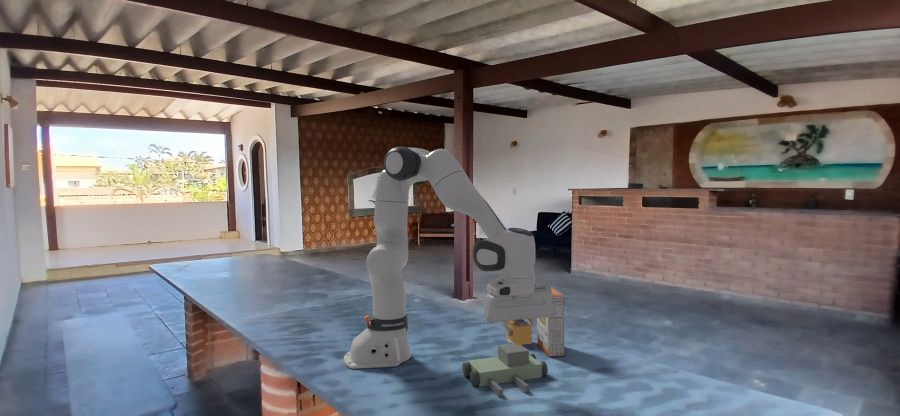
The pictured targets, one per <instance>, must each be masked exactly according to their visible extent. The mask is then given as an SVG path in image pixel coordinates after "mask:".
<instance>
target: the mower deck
mask: <svg viewBox="0 0 900 416" xmlns="http://www.w3.org/2000/svg"><path fill="white" fill-rule="evenodd" d="M461 365H462V367H461V368H462V374H463V376H464V377H469V378H470V383H471V385H472V386H473V387H474V386H478V387H486V386H488V388H490V389H491V391H493V393H494V394H495V395H496V396H497V397H498V398H502V397H504V389H503V388H502V386H500V383H501V384H505V383H513V384H514V385H515V386H516V387H517V388H518V389H520V391H521V392H522V393H524V394H528V393H529V392H530V391H529V387H530V386H529V384H528V383H526V382H525V381H526V380H532V379H539V378H543V376H547V375H548V372H549V371H548V365H547V363H546V361H544V360H542V361H539V360H537V357H536V355H535V354H534V353H530V350H529V349H528V348H526V347H525V346H523V344H522V345H516V344H512V343H509V344H502V345H498V346H497V356H493V357H486V358H485V357H484V358H477V359H470V360H467V361H466V362H462V364H461ZM524 380H525V381H524Z"/></svg>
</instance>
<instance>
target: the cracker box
mask: <svg viewBox="0 0 900 416" xmlns="http://www.w3.org/2000/svg"><path fill="white" fill-rule="evenodd" d="M550 287H551V289H552V297H551V298H552V305H553V314H552V315H551V317H545V318H536V327H537V328H536V329H537V331H536V334H537V336H536V337H537V340H536V341H537V344H538V345H539V346H540V347H541V349H542V350H543V351H544V353H545V354H546V356H548V358H554V357H565V354H566V353H565V351H566V350H565V295H563V294H562V293H561V292H559V291H558V290H556V289H555V288H554V287H552V286H550ZM548 288H549V287H548Z"/></svg>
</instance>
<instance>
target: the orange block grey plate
mask: <svg viewBox="0 0 900 416" xmlns="http://www.w3.org/2000/svg"><path fill="white" fill-rule="evenodd" d="M528 323H529V321H527V322H526V321H524V320H523V319H522V320H511V321H509V324H507V325H508V327H509V328H511V329H512V330H513V333H512V334H513V335H512V336H506V335H505V337H506V338H507V340H508V339H509V340H511V341H512V342H513V343H515V344H516V345H522V346H523V345H530V344H532V343H533V342H532V338H533V337H532V336H533V327H532V325H530V324H528Z"/></svg>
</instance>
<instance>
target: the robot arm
mask: <svg viewBox="0 0 900 416" xmlns="http://www.w3.org/2000/svg"><path fill="white" fill-rule="evenodd" d="M383 168H384V169H383V170H382V171H381V172H380V173H379V175H378V179H377V184H376V188H375V197H374V215H373V217H374V218H373V226H374V227H375V235H376V246H375V247H373V248H372V249H371V250H370V251H369V253H368V255H367V257H366V260H365V267H366V270H367V272H368V276H369V282H370V285H371V286H370V288H371V293H372V315H371V316H370V315H365V316H364V321H365V323H367V324H366V328H364V330H363V331H361V332H360V333H359V334H358V335H357V336H356V337H354V338H353V340H352V342H351V346H350V350H349V351H348V352H346V353H345V354H344V356H343V363H344V365H345V366H346V367H347V368H349V369H353V370H354V369H372V368H375V369H376V368H393V367H398V366H399V365H401V364H402V363H404V362H406V361H408V360H409V359H410V358H412V355H413V354H412V352H411V348H410V345H409V338H408V329H409V320H408V319H409V318H408V314H407V297H406V296H407V295H406V289H405V285H404V279H403V269H404V267H406V265H407V264H408V261H409V236H408V233H409V232H408V216H409V215H408V214H409V213H408V212H409V200H410V199H409V193H410V188H411V187H412V185H414V184H415V185H421V184H426V183H428V182H429V184H430V185H431V188H433V191H434V193H435V194H436V196H437V198H438V199H439V201H440V202H441V203H442V204H443V206H445V207H446V208H447V209H449V210H452V211H456V212H459V213H462V214H463V215H466V216H469V217H470V218H472V219H473V220H474V221H475V222H476V223H477V225H478V226H479V228H480V229H481V230H482V232H483V233H484V236H486V237H487V238H485V239H482V240H480V241H478V242H477V243H476V244H475V245H474V247H473V250H472V259H473V262H474V264H475V266H476V267H477V269H479V270H480V271H483V272H487V273H490V272H497V271H501V272H502V273H503V274H502V275H503V278H501V279H498V280H496V281H493V282H490V283H489V284H487V286H486V290H487V292H488V293H487V294H486V296H485V298H484V302H483V317H484V319H485V320H486V321H487V322H489V323H497V322H498V323H499V322H501V325H502V326H503V328H504V330H505V332H504V333H505V337H506V336H512V335H513V334H512V333H513V330H512V329H511V328H509V327H508V325H507V324H509V321H511V320H522V319H527V321H528V324H530V325H532V328H534V325H535V324H536V323H537V318H545V317H551V315H552V314H553V305H552V298H551V297H552V289H551V287H552V286H550V285H548V284H547V283H546V284H536V272H535V264H536V241H535V236H534V235H533V233H532V232H530V231H529V230H528V229H525V228H520V227H507V228H506V227H505V225H504V224H503V223H502V221H501V220H500V218H499V217H498V215H497V214H496V212H494V209H493V208H492V206H490V204H489V203H488V202H487V200H485V199H484V197H483V196H482V195H481V193H480V192H479V191H478V190H477V188H476V187H475V185H474V184H473V182H472V181H471V179H470V178H469V176H468V175H467V173H466V172H465V170H464V168H463V166H462V165H461V164H460V162H459V161H458V160H457V158H455V156H454V155H453V154H452V153H451V152H450V151H449V150H448V149H445V148H438V149H437V148H436V149H434V150H433V151H431V150H429V149H424V148H419V147H407V146H397V147H394V148H391V149H390V150H388V152H387V153H386V155H385V157H384V160H383ZM548 287H549V288H548Z"/></svg>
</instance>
